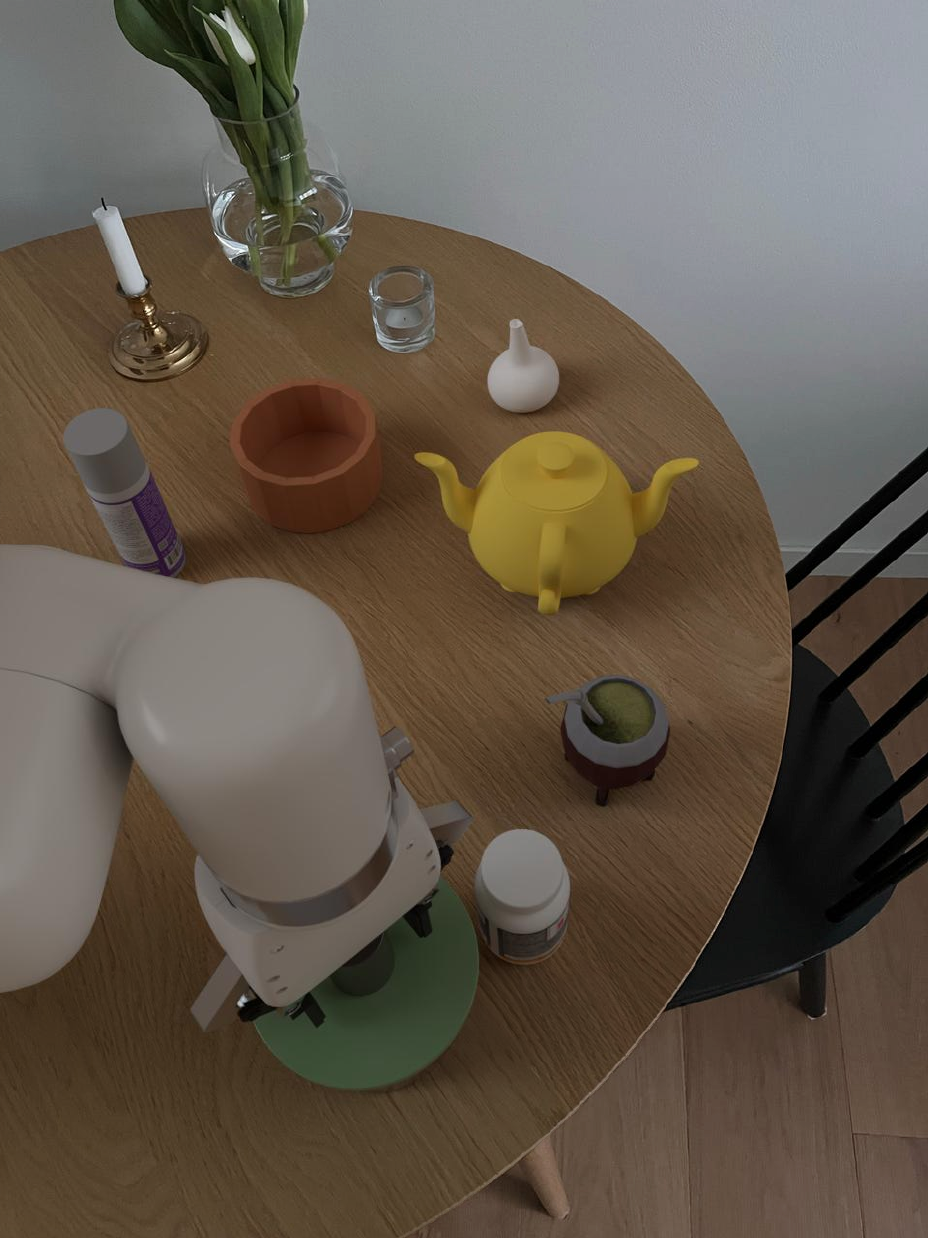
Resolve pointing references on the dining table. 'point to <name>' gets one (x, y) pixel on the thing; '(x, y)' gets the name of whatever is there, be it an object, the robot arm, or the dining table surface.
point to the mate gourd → (613, 732)
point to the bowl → (308, 454)
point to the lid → (386, 1005)
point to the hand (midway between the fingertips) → (358, 956)
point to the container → (124, 491)
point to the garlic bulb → (522, 374)
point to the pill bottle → (522, 897)
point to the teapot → (553, 514)
